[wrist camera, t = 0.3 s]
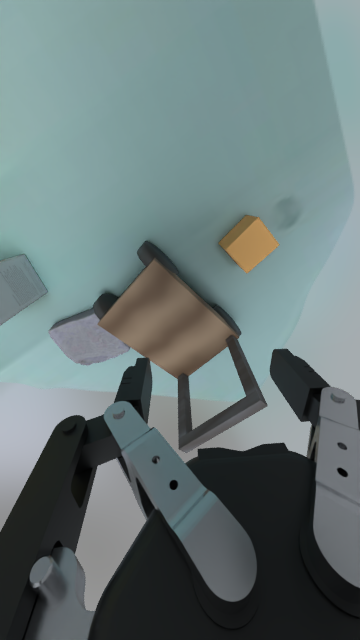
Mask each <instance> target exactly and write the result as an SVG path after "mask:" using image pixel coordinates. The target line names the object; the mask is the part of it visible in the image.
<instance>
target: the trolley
mask: <svg viewBox="0 0 360 640" xmlns="http://www.w3.org/2000/svg"><path fill="white" fill-rule="evenodd" d="M137 254H138V256H139V258H140V260H141V261H142V262H143V263H144V265H145V266H146V267H145V268H144V270H143V271H142V272H141V273H140V274H139V275H138V276H137V278H136V279H135V280H134V281H133V282H132V283H131V284H130V286H129V287H128V288H127V289H126V290H125V291H124V292H123V294H122V295H121V296H120V297H119V298H118V297H116V296H114V295H111V294H102V295H101V296H100V297H99V298H98V299H97V300H96V302H95V303H94V305H93V310H94V313H95V315H96V316H97V317H98V319H99V320H100V321H99V322H98V324H97V325H99V326H100V327H102V328H103V329H105V330H106V331H108V332H109V333H110V334H112V335H113V336H115V337H116V338H118V339H119V340H121V341H122V342H124V343H125V344H127V345H128V346H130V347H131V348H133V349H134V350H136V351H137V352H138V353H140V354H141V355H143V356H144V357H146V358H147V357H149V359H150V361H152V362H153V363H155V364H156V365H158V366H159V367H161V368H162V369H164V370H165V371H167V372H168V373H169V374H171V375H172V376H174V377H175V378H177V379H178V429H179V450H182V451H183V452H185V453H187V452H189V451H191V450H193V449H194V448H196V447H197V446H199V445H201V444H203V443H204V442H206V441H208V440H210V439H212V438H213V437H215V436H216V435H218V434H220V433H222V432H223V431H225V430H227V429H229V428H231V427H232V426H234V425H236V424H237V423H239V422H241V421H242V420H244V419H246V418H248V417H249V416H251V415H253V414H255V413H256V412H258V411H260V410H261V409H263V408H265V407H267V403H266V401H265V399H264V397H263V395H262V392H261V390H260V388H259V386H258V384H257V381H256V379H255V377H254V375H253V373H252V371H251V368H250V366H249V364H248V362H247V360H246V357H245V355H244V353H243V351H242V349H241V346H240V344H239V342H238V340H237V339H238V338H239V336H240V335H241V331H240V329H239V327H238V326H237V325H236V323H235V322H234V321H233V319H232V318H231V317H230V316H229V315H228V314H227V313H226V312H225V311H224V310H223V309H222V308H221V307H219V306H217V305H216V306H215V307H214V308H211V307H210V306H209V305H208V304H207V303H206V302H205V301H204V300H203V299H202V298H201V297H200V296H198V295H197V294H196V293H195V292H194V291H193V290H192V289H191V288H190V287H189V286H188V285H187V284H186V283H184V282H183V281H182V280H181V279H180V278H179V277H178V276H177V275H178V274H179V272H178V270H177V268H176V266H175V265H174V264H173V263H172V261H171V260H170V259H169V258H168V257H167V256H166V255H165V254H164V253H163V252H162V251H161V250H160V249H158V248H157V247H156V246H155V245H153V244H152V243H150V242H148V241H145V242H144V243H143V245H142V246H141V247H140V248H139V249H138V251H137ZM226 347H228V348H229V350H230V353H231V356H232V359H233V361H234V364H235V367H236V369H237V372H238V375H239V378H240V380H241V383H242V386H243V388H244V391H245V394H246V397H245V398H243V399H241V400H240V401H238V402H237V403H235V404H233V405H232V406H230V407H229V408H227V409H226V410H224V411H222V412H221V413H219V414H217V415H216V416H214V417H213V418H211V419H209V420H208V421H206V422H205V423H203V424H201V425H200V426H198V427H197V428H195V429H193V430H192V419H191V407H190V392H189V379H188V376H189V375H191V374H192V373H193V372H195V371H196V370H197V369H199V368H200V367H201V366H203V365H204V364H205V363H207V362H208V361H209V360H210V359H212V358H213V357H214V356H216V355H217V354H218V353H220V352H221V351H222V350H224V349H225V348H226Z"/></svg>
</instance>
